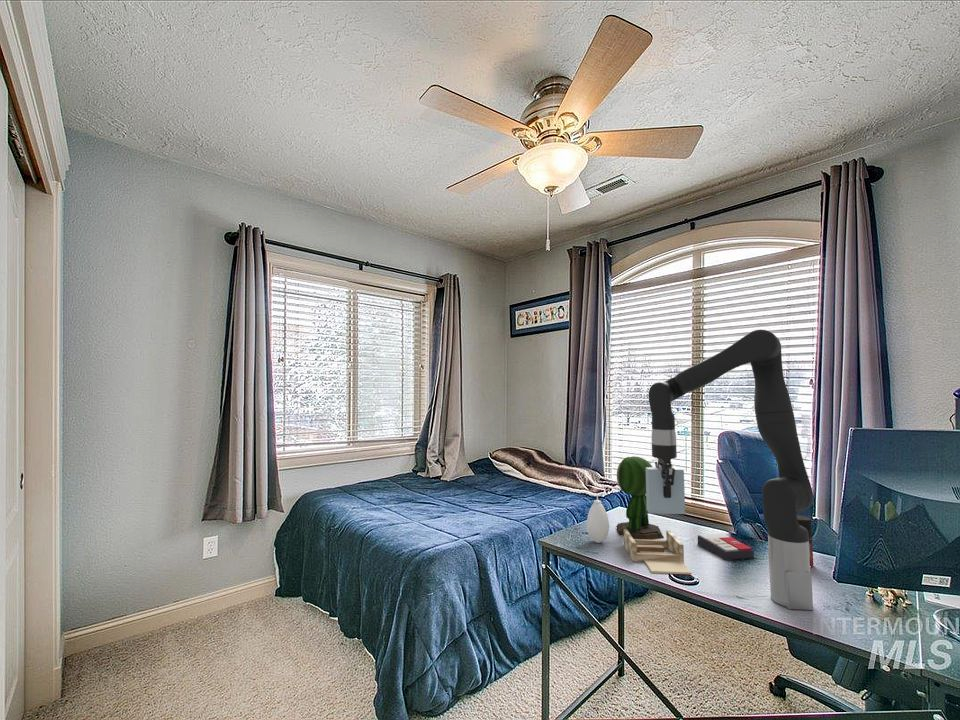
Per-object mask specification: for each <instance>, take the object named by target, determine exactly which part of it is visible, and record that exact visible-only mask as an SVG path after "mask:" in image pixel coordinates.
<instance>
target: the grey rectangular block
mask: <svg viewBox="0 0 960 720" xmlns="http://www.w3.org/2000/svg"><path fill="white" fill-rule="evenodd" d="M673 468H674V469H675V475H674V485H672V486H671V498H665V497H664V495H663V479H662V478H661V469H659V468H656V466H654V467H653V466H652V467H646V494H645V495H646V501H647V511H648V514H660V515H661V514H667V515H672V514H673V515H686V501H685V497H686V496H685V469H683V468H681V467H673ZM663 475H664V474H663ZM664 476H665V475H664ZM668 481H669V479H668Z"/></svg>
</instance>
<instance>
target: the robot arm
mask: <svg viewBox="0 0 960 720" xmlns="http://www.w3.org/2000/svg"><path fill="white" fill-rule="evenodd" d="M747 364H750V366H751V369H752V374H753V378H754V379H753V380H754V405H753V406H754V415H755V421H756V425H757V429H758V433H759V435H760V436H761V439H762V440H763V441H764V443H765V444H766V446H767V447H768V448H769V450H770V452H771V453H772V455H773V456H774V458H775V462H776V465H777V469H778V470H777V471H778V476H779V477H777V478H771V479H768V480H766V482H764V484H763V486H762V489H761V490H762V491H761V502H762V513H763V520H764V524H765V525H766V528H767V537H768V538H767V541H768V544H767V545H768V566H769V570H768V571H769V587H770V598H771V600H772V601H773V602H775V603H776V604H778V605H779V606H783V607H785V608H787V609H788V610H801V611H802V610H803V611H813V610H814V600H813V596H814V595H813V575H812V573H811V567H810V559H809V534H808V530H807V529H806V528H804V527H803V526H800V525H799V524H798V521H797V515H798V514H797V513H798V512H803V511H806V510H809V509H810V507H811V506H812V505H813V503H814V492H813V488H812V485H811V482H810V478H809V475H808V471H807V469H806V466H805V463H804V458H803V454H802V450H801V445H800V440H799V437H798V436H799V435H798V430H797V429H798V428H797V424H796V417H795V414H794V413H795V412H794V408H793V405H792V401H791V396H790V393H789V391H788V387H787V385H786V380H785V378H784V371H783V370H784V369H783V359H782V343H781V341H780V339H779V338H778V337H777V335H775V334H774V333H773V332H772V331H769V330H766V329H755V330H752V331H750V332H749V333H747V334H746V335H744V336H743V337H742V338H740V339H738V340H737V341H735V342H734V343H733V344H732V345H729V346H728V347H727V348H725V349H723V350H722V351H720V352H718V353H716V354H714V355H712V356H711V357H709V358H706V359H704V360H702V361H701V362H698V363H695V364H694V365H691V366H690V367H688V368H686V369H684V370H682V371H680V372H678V373H676V375H675V376H673V377H671V378H669V379H667V380H665V381H662V382H660V381H657V382H655V383H653V384H652V385H651V386H650V387H649V390H648V403H649V407H650V408H649V409H650V413H651V456H652V457H653V458H654V459H655V458H656V459H657V461H655V462H654V467H655V468H659V469H661V478H662V479H663V495H664V497H665V498H671V486H672V485H674V475H675V469H674V468H675V467H674V466H673V464H672V460H673V459H674V460H675V459H677V457H678V456H677V454H678V453H677V452H678V451H677V433H676V421H675V420H676V419H675V418H676V417H675V414H674V413H673V411H672V402H674V401H676V400H677V399H680V398H681V397H683V396H684V395H687V394H688V393H690V392H693V391H696V390H698V389H700V388H702V387H704V386H706V385H708V384H711V383H713V382H714V381H716V380H717V379H719V378H720V377H722V376H724V375H726V374H727V373H728V372H730V371H732V370H734V369H736V368H739V367H741V366H744V365H747ZM663 474H664V475H665V476H664V475H663ZM668 479H669V481H668Z"/></svg>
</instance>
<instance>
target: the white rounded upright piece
mask: <svg viewBox="0 0 960 720" xmlns="http://www.w3.org/2000/svg"><path fill="white" fill-rule="evenodd" d="M588 510H589V511H588V515H587V518H586V529H587V533H588V536H589V537H590V538H591V540H593V542H595V543H596V544H597V543H598V544H600V543H602V542H604V540H606V539H607V537H608V535H609V531H610V521H609V516H608V513H607V510H606V508H605V506H604V505H603V504H602V501H601V500H599V495H598V493H596V500H595V499H594V500H593V504H592V505H591V506H590V509H588Z"/></svg>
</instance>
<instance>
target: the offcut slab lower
mask: <svg viewBox="0 0 960 720" xmlns="http://www.w3.org/2000/svg"><path fill="white" fill-rule="evenodd" d="M640 553H663V554H672V553H671V552H670V551H669V552H668V551H667V552H666V551H664V552H646V551H640Z"/></svg>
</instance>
